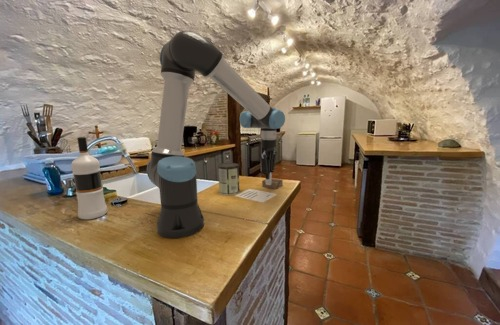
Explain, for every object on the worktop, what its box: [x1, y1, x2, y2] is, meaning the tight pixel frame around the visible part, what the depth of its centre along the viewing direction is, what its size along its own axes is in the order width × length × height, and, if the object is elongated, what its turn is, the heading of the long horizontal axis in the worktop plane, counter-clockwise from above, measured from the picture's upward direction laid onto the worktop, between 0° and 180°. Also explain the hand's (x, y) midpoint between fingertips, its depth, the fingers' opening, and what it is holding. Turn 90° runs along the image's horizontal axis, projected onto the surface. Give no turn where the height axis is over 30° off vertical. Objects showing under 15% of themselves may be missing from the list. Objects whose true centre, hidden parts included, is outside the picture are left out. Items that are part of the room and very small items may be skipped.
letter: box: [234, 188, 278, 203], centre depth 104 cm, size 13×16×1 cm
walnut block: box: [261, 177, 284, 190], centre depth 118 cm, size 8×8×4 cm
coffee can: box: [217, 162, 241, 196], centre depth 108 cm, size 10×10×14 cm
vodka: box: [70, 136, 109, 221], centre depth 81 cm, size 9×9×30 cm
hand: (268, 184), depth 113 cm, fingers closed
